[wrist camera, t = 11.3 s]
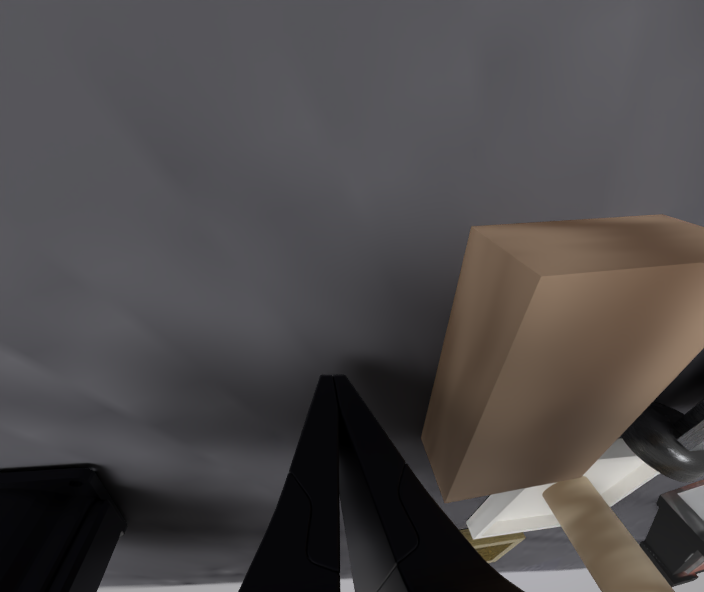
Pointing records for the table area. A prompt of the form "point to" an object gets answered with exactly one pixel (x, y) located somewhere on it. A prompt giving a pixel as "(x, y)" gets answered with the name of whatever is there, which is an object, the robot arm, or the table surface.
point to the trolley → (669, 441)
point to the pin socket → (494, 544)
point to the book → (678, 534)
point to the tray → (529, 505)
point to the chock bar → (559, 346)
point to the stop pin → (602, 539)
